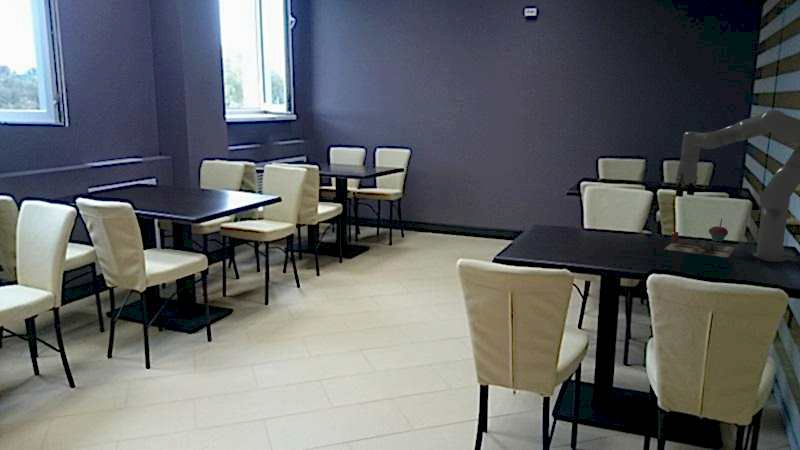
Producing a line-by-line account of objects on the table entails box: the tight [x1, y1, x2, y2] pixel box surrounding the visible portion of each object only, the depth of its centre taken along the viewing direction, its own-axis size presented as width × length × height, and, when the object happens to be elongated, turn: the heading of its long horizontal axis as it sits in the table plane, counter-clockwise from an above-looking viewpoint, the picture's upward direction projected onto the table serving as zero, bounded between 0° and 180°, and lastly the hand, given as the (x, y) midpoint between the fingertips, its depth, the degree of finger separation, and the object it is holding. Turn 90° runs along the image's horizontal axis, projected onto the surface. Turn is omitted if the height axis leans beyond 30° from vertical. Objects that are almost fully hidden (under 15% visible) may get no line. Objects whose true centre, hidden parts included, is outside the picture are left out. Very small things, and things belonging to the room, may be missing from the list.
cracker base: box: [664, 238, 736, 258], centre depth 277 cm, size 26×24×3 cm
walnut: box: [701, 242, 711, 252], centre depth 269 cm, size 4×4×4 cm
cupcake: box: [708, 218, 729, 243], centre depth 298 cm, size 9×8×12 cm
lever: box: [670, 231, 725, 250], centre depth 277 cm, size 22×5×6 cm, turn 55°
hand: (684, 195), depth 281 cm, fingers open, 9 cm apart
